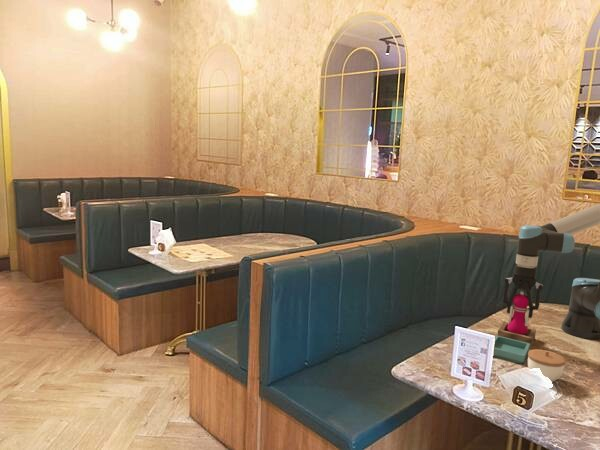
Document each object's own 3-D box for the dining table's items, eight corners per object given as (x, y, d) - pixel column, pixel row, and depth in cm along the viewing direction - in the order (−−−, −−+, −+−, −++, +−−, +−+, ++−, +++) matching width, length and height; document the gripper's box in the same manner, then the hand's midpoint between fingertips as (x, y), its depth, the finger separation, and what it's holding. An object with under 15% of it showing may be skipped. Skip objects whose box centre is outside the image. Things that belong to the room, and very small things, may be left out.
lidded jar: (519, 376, 154) (523, 349, 152) (533, 367, 160) (537, 342, 159) (553, 390, 146) (557, 361, 144) (567, 380, 152) (571, 353, 151)
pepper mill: (528, 344, 181) (535, 294, 177) (508, 341, 182) (514, 292, 179) (523, 337, 188) (530, 289, 184) (504, 334, 189) (510, 287, 186)
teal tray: (529, 351, 174) (530, 343, 174) (523, 364, 163) (524, 356, 162) (495, 342, 181) (496, 335, 180) (487, 354, 169) (488, 346, 169)
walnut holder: (534, 338, 187) (536, 329, 186) (530, 348, 177) (531, 338, 176) (502, 331, 193) (504, 321, 192) (496, 340, 183) (498, 330, 182)
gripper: (498, 263, 182) (491, 320, 186) (551, 271, 172) (542, 332, 176) (502, 259, 188) (495, 315, 192) (553, 268, 178) (545, 326, 182)
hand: (518, 323), depth 184 cm, fingers closed on pepper mill, 5 cm apart
